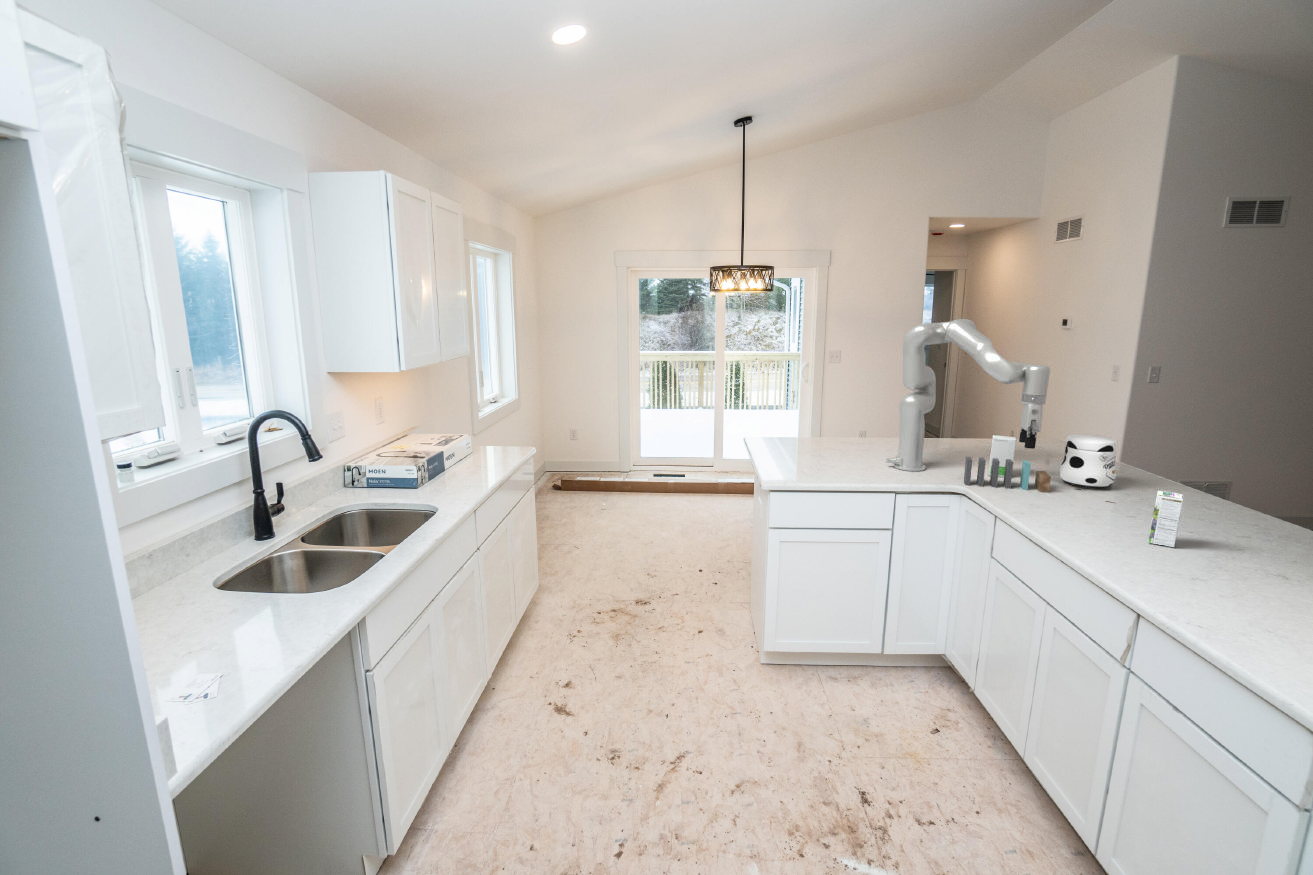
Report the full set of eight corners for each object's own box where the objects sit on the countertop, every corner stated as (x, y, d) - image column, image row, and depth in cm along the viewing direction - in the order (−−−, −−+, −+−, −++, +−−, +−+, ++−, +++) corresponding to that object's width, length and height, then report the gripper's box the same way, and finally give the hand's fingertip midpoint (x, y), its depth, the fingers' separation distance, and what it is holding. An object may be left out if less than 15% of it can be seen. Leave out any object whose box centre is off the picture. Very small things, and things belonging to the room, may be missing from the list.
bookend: (1039, 491, 222) (1041, 475, 221) (1034, 485, 229) (1036, 470, 228) (1049, 492, 221) (1050, 476, 220) (1043, 486, 228) (1045, 471, 227)
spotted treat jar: (1124, 492, 220) (1131, 443, 216) (1070, 490, 223) (1076, 442, 220) (1100, 479, 237) (1106, 434, 233) (1050, 477, 240) (1056, 433, 236)
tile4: (1005, 488, 227) (1008, 462, 225) (1003, 484, 231) (1005, 459, 229) (1010, 488, 226) (1013, 462, 224) (1008, 485, 231) (1010, 459, 229)
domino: (1022, 489, 225) (1025, 463, 223) (1019, 485, 230) (1022, 460, 228) (1027, 489, 224) (1030, 463, 222) (1024, 486, 229) (1027, 460, 227)
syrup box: (1148, 538, 176) (1156, 489, 173) (1175, 542, 173) (1183, 493, 170) (1148, 544, 172) (1156, 494, 169) (1175, 548, 168) (1184, 498, 165)
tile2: (978, 486, 230) (980, 460, 228) (976, 482, 235) (978, 457, 233) (983, 486, 229) (985, 460, 227) (981, 483, 234) (983, 457, 232)
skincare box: (988, 475, 244) (992, 437, 241) (988, 472, 250) (991, 434, 246) (1012, 478, 240) (1016, 439, 237) (1011, 474, 246) (1015, 436, 243)
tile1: (965, 485, 231) (967, 459, 229) (963, 481, 236) (965, 456, 234) (969, 485, 231) (972, 459, 229) (968, 482, 235) (970, 456, 233)
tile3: (992, 487, 228) (994, 461, 226) (990, 483, 233) (992, 458, 231) (996, 487, 228) (999, 461, 226) (994, 484, 232) (997, 458, 230)
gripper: (1051, 403, 211) (1044, 451, 215) (1039, 396, 227) (1033, 441, 231) (1026, 402, 214) (1019, 449, 218) (1016, 395, 230) (1010, 439, 233)
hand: (1026, 445), depth 224 cm, fingers open, 9 cm apart
